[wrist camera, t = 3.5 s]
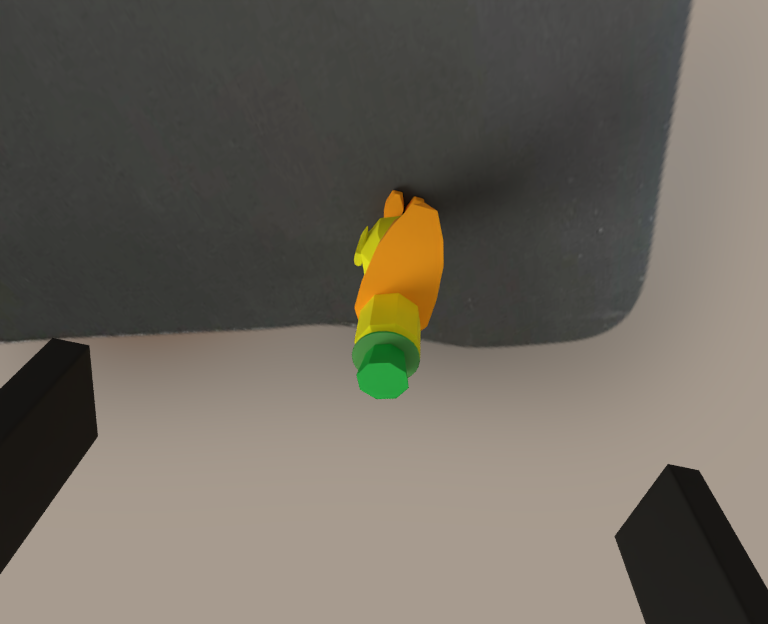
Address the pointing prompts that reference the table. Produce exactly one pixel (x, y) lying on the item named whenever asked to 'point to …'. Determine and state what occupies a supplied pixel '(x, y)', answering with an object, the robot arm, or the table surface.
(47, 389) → the robot arm
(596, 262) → the table surface
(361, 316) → the toy figure
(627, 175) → the table surface
